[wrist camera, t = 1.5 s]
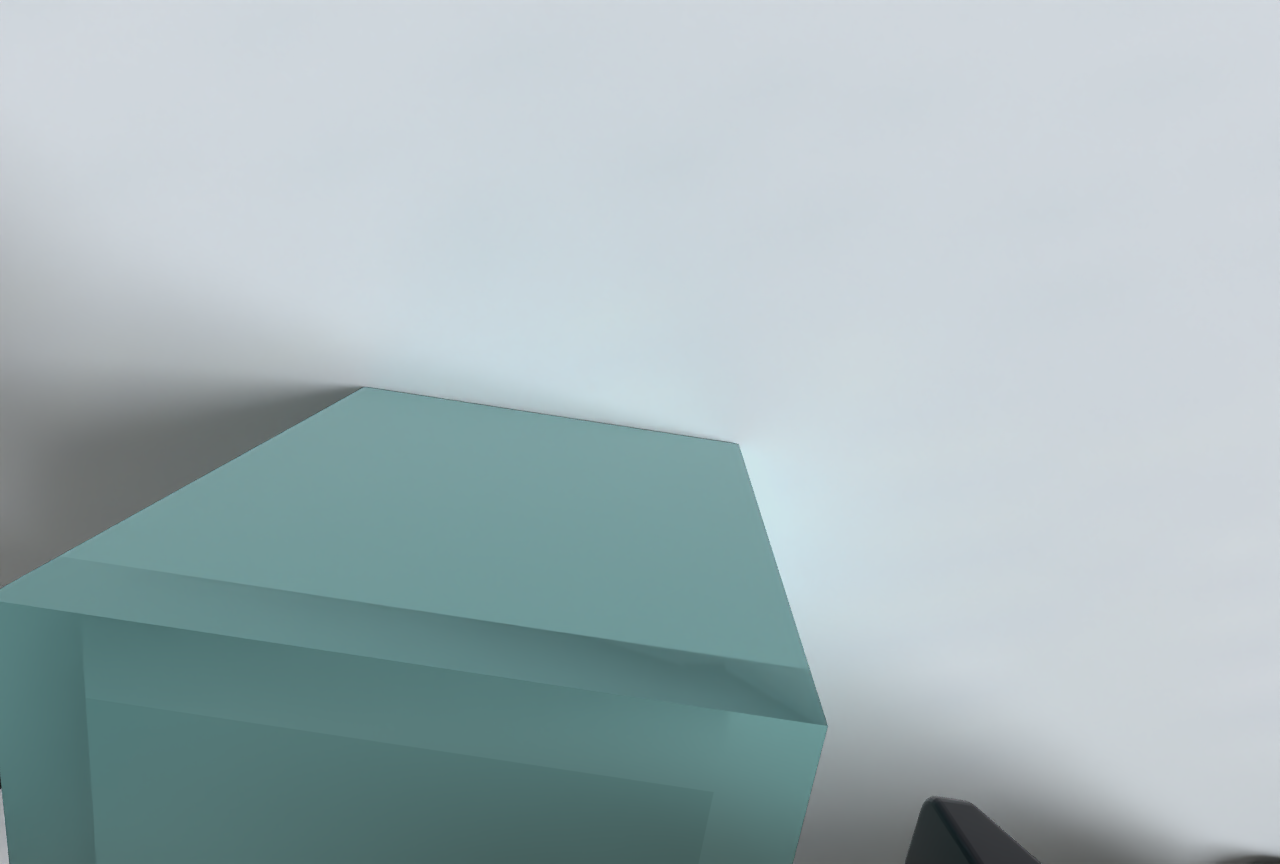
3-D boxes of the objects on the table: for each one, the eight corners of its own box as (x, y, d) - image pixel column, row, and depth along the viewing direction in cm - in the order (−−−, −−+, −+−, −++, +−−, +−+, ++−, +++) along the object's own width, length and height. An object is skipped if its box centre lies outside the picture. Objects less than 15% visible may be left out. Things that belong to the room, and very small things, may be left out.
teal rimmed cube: (738, 444, 10) (826, 726, 5) (677, 758, 12) (687, 1274, 6) (364, 386, 10) (-18, 598, 5) (348, 708, 12) (42, 1179, 6)
